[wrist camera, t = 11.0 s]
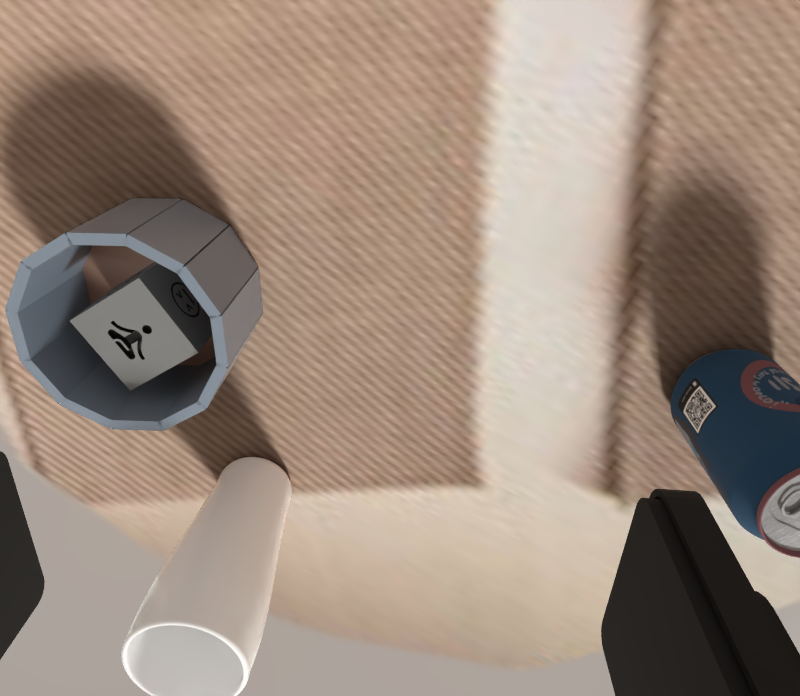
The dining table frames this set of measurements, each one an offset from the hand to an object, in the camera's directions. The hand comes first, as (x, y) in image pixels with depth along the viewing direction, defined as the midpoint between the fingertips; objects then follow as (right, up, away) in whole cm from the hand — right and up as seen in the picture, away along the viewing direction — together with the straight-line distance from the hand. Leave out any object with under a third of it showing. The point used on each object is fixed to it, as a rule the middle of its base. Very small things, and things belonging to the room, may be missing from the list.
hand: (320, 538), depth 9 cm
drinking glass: (-9, -7, +36) cm, 38 cm away
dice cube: (-13, +6, +29) cm, 33 cm away
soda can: (+22, 0, +31) cm, 38 cm away
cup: (-13, +7, +30) cm, 33 cm away
